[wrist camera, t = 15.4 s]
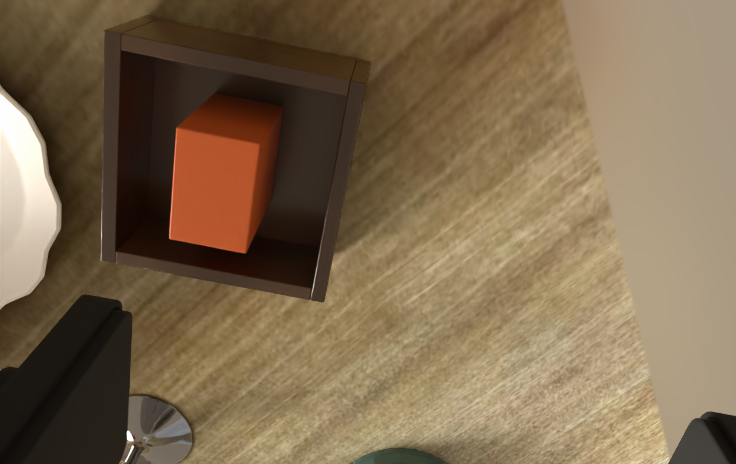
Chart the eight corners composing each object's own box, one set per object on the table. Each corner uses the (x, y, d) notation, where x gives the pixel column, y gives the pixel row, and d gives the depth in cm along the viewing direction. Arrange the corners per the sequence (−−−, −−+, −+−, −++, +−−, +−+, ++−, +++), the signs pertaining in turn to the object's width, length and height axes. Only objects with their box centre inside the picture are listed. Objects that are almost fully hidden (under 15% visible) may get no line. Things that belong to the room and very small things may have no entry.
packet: (284, 106, 37) (260, 143, 30) (270, 201, 39) (246, 254, 33) (214, 92, 37) (175, 126, 30) (205, 188, 39) (168, 239, 33)
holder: (371, 61, 36) (366, 83, 31) (333, 257, 41) (323, 303, 36) (146, 15, 35) (104, 29, 30) (137, 219, 41) (100, 260, 36)
